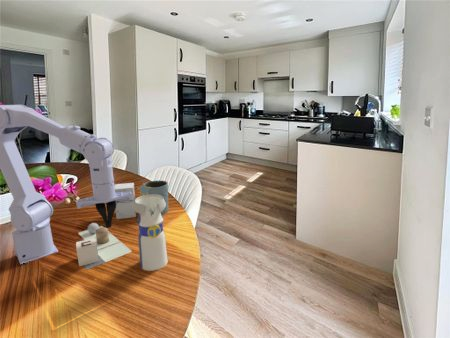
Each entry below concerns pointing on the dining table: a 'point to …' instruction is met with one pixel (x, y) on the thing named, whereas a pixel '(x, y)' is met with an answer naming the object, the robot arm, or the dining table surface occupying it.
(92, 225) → the grey ball
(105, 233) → the cork
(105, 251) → the tile set
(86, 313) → the dining table surface
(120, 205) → the supplement box
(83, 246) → the letter cube
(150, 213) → the cream belted figurine
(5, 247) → the dining table surface
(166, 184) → the grey plant pot
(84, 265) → the slate mat
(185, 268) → the dining table surface
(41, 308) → the dining table surface
